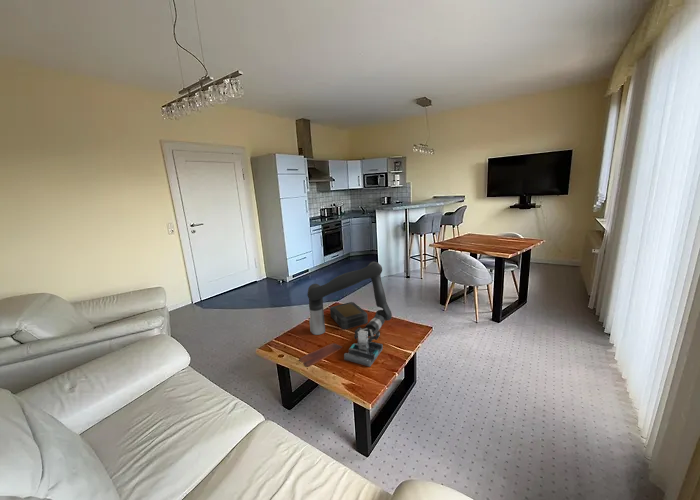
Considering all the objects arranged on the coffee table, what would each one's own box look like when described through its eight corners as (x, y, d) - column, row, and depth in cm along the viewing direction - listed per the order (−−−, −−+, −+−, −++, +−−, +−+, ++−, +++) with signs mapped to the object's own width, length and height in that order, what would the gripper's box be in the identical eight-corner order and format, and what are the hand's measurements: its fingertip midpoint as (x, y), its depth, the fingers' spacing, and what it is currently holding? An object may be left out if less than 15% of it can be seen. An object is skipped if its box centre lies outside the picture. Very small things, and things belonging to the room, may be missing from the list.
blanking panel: (359, 352, 165) (357, 331, 162) (361, 349, 167) (359, 329, 164) (366, 354, 163) (365, 333, 160) (368, 351, 165) (367, 331, 162)
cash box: (329, 316, 216) (328, 307, 214) (353, 310, 224) (352, 301, 222) (342, 331, 193) (341, 320, 192) (368, 323, 202) (368, 313, 200)
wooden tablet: (307, 368, 156) (307, 366, 156) (298, 361, 164) (297, 358, 163) (344, 348, 173) (344, 346, 173) (334, 342, 181) (334, 340, 180)
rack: (344, 359, 161) (344, 354, 161) (358, 343, 177) (358, 338, 176) (370, 366, 154) (369, 361, 153) (382, 349, 169) (382, 344, 168)
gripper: (362, 318, 178) (350, 331, 164) (384, 323, 171) (373, 336, 157) (363, 329, 179) (351, 342, 166) (384, 334, 173) (373, 348, 159)
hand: (361, 339), depth 161 cm, fingers open, 8 cm apart
